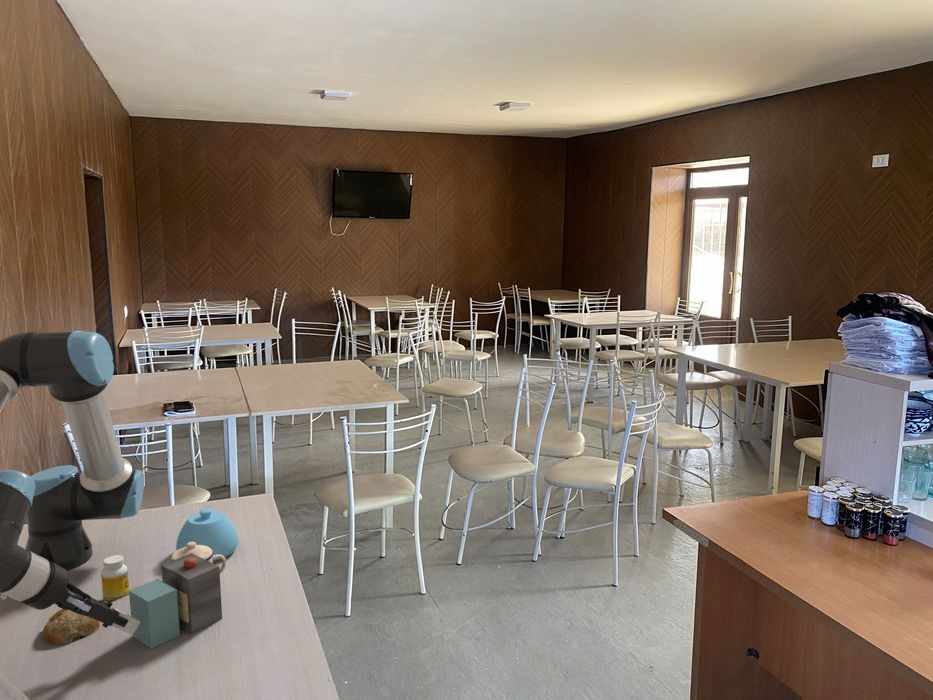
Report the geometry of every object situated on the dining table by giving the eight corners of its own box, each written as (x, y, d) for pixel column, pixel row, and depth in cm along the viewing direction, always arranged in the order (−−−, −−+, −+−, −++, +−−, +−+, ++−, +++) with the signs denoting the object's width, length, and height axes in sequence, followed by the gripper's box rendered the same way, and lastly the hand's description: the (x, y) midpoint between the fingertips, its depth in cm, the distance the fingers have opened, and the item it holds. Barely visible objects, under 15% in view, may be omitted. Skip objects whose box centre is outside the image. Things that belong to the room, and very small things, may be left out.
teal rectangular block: (132, 636, 141) (128, 590, 140) (160, 623, 146) (157, 578, 144) (151, 649, 137) (148, 601, 136) (179, 635, 142) (176, 589, 140)
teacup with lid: (177, 604, 156) (174, 555, 154) (169, 587, 164) (166, 540, 162) (232, 590, 163) (229, 542, 161) (222, 574, 170) (219, 528, 168)
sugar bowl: (246, 556, 179) (244, 513, 178) (184, 572, 171) (181, 527, 169) (229, 535, 192) (227, 495, 190) (170, 549, 183) (168, 506, 181)
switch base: (90, 655, 137) (84, 587, 135) (192, 607, 155) (188, 546, 152) (122, 678, 130) (117, 607, 128) (225, 626, 148) (222, 562, 145)
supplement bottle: (103, 596, 160) (99, 556, 158) (129, 590, 162) (126, 551, 160) (103, 607, 155) (100, 566, 153) (130, 601, 157) (127, 561, 156)
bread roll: (56, 671, 139) (62, 642, 136) (29, 636, 143) (34, 608, 140) (104, 646, 147) (111, 619, 144) (77, 613, 151) (83, 586, 148)
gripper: (3, 590, 124) (105, 634, 140) (36, 614, 116) (140, 657, 132) (32, 550, 127) (129, 598, 143) (66, 571, 119) (165, 619, 135)
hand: (134, 627), depth 138 cm, fingers closed
